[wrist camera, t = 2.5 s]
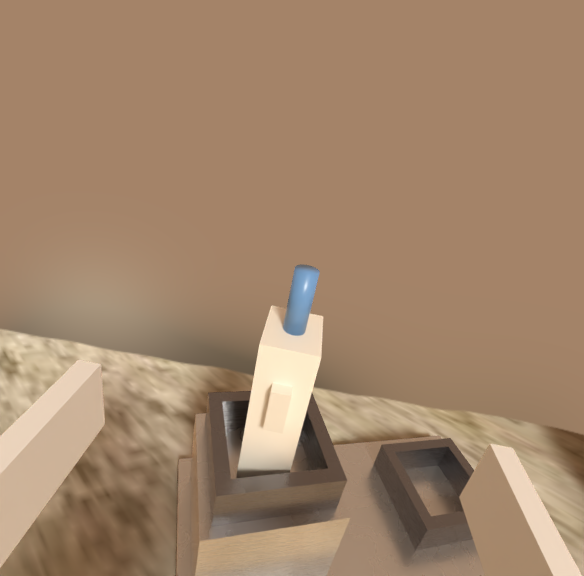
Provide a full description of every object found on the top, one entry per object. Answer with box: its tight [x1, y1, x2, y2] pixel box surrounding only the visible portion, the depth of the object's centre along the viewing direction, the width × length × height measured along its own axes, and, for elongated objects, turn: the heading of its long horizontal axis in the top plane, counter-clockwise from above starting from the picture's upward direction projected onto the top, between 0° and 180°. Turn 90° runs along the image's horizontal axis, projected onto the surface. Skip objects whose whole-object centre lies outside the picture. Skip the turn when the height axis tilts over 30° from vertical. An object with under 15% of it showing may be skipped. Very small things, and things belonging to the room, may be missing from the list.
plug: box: [236, 265, 323, 478], centre depth 24 cm, size 4×5×16 cm, turn 174°
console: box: [176, 391, 485, 576], centre depth 32 cm, size 30×14×12 cm, turn 104°
